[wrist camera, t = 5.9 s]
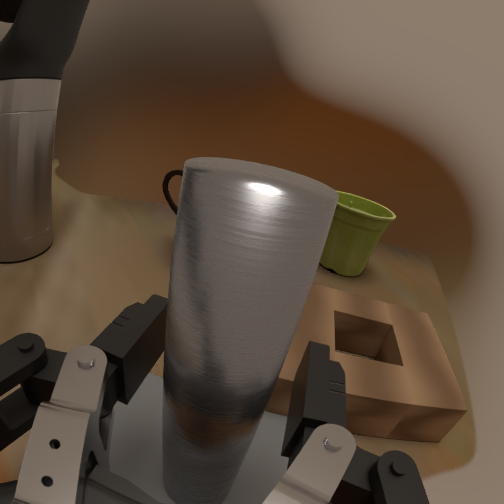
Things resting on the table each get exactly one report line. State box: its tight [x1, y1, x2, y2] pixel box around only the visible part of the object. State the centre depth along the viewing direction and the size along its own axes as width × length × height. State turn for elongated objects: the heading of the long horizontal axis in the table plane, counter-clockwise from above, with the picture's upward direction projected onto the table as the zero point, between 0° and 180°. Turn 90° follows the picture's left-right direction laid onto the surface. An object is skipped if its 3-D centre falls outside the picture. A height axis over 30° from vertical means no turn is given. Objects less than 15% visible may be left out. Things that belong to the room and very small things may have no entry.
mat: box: [20, 373, 289, 504], centre depth 13 cm, size 14×10×1 cm
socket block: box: [265, 283, 467, 442], centre depth 22 cm, size 14×12×4 cm
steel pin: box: [162, 157, 339, 504], centre depth 9 cm, size 3×3×14 cm
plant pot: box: [319, 191, 396, 277], centre depth 39 cm, size 9×9×9 cm
